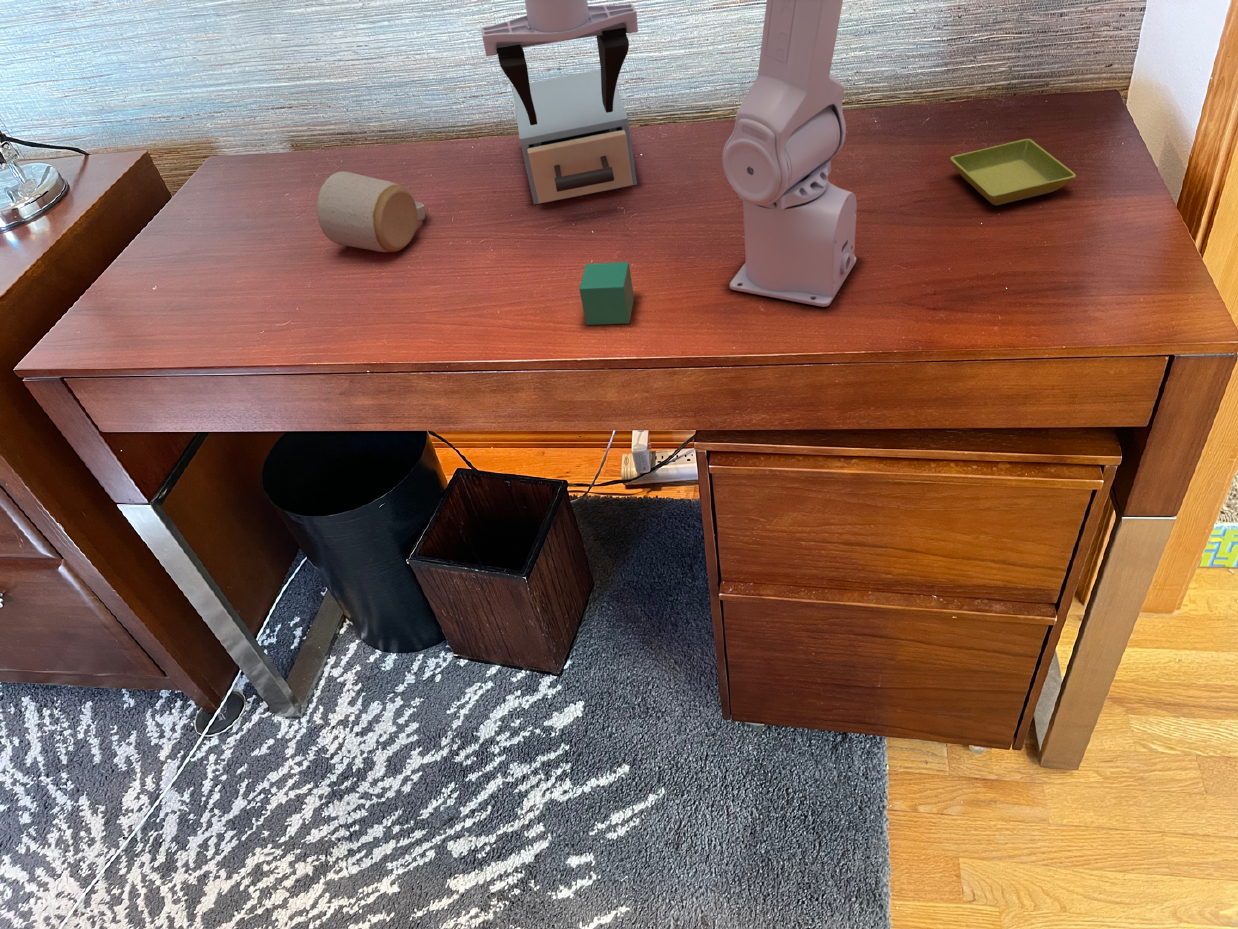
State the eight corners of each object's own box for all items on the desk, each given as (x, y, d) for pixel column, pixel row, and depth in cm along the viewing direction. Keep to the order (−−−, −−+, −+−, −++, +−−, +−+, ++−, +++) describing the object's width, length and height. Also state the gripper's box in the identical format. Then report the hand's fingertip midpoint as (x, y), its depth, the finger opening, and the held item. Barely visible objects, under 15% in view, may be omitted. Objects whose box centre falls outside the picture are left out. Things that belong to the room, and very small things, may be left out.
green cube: (634, 298, 84) (628, 261, 81) (629, 323, 81) (623, 286, 78) (592, 299, 85) (585, 263, 82) (586, 325, 82) (578, 288, 79)
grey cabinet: (636, 184, 99) (628, 117, 94) (534, 204, 99) (519, 139, 94) (618, 129, 110) (609, 66, 104) (525, 147, 110) (512, 85, 104)
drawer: (639, 205, 94) (632, 152, 90) (542, 224, 94) (530, 172, 90) (616, 133, 107) (609, 84, 103) (530, 149, 107) (520, 101, 103)
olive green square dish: (1074, 195, 86) (1078, 175, 85) (988, 215, 86) (991, 195, 84) (1025, 156, 92) (1029, 137, 91) (945, 175, 92) (947, 156, 90)
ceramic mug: (390, 267, 94) (367, 199, 88) (330, 257, 97) (304, 191, 92) (446, 217, 100) (427, 151, 95) (388, 209, 103) (366, 145, 98)
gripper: (623, -59, 83) (633, 85, 93) (468, -35, 83) (495, 107, 93) (638, -33, 79) (647, 115, 89) (474, -7, 78) (502, 140, 88)
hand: (570, 114), depth 90 cm, fingers open, 7 cm apart
